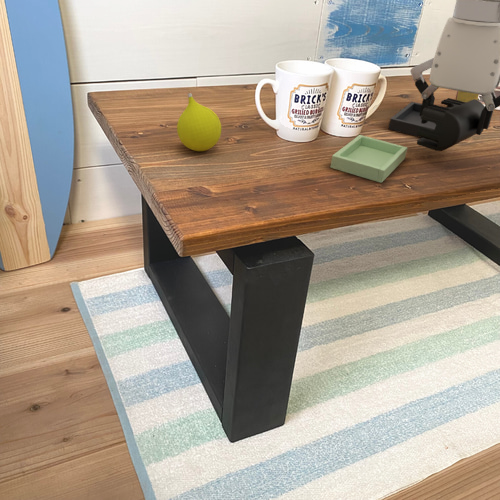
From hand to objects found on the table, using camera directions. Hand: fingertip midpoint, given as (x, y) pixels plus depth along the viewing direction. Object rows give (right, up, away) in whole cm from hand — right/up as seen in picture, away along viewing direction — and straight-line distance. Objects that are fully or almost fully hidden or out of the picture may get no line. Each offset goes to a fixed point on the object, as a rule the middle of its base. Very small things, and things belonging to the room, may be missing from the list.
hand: (451, 126), depth 84 cm
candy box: (+11, +8, +24) cm, 28 cm away
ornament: (-42, -4, 0) cm, 42 cm away
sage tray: (-14, -6, -1) cm, 15 cm away
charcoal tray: (+1, +4, +16) cm, 17 cm away
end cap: (0, -3, +2) cm, 3 cm away
